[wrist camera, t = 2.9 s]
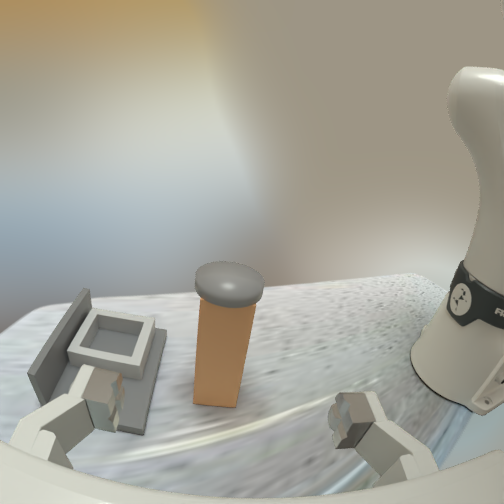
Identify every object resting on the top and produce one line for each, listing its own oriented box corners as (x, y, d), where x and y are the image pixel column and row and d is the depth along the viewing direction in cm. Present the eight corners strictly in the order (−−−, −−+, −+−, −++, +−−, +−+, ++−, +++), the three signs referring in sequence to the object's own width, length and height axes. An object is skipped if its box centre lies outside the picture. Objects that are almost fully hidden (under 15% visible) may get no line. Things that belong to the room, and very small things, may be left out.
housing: (166, 336, 35) (166, 301, 33) (143, 435, 23) (137, 401, 21) (88, 323, 34) (83, 288, 32) (43, 409, 21) (26, 372, 19)
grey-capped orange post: (240, 374, 32) (261, 265, 27) (241, 412, 27) (267, 299, 22) (191, 369, 31) (199, 258, 26) (186, 407, 26) (191, 291, 21)
